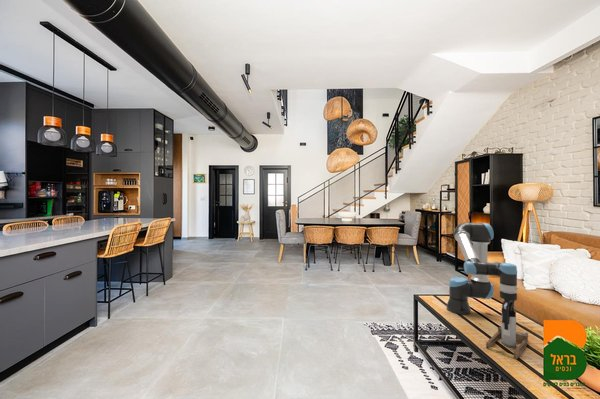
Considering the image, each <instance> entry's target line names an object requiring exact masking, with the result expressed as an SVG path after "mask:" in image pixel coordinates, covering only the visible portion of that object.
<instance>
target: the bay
mask: <svg viewBox="0 0 600 399" xmlns="http://www.w3.org/2000/svg"><path fill="white" fill-rule="evenodd" d="M528 337H529V332H527V331H525V333H524V332H520V331H517V330H516V344H517V343H518V344H519V345H518V347H517V348H515V350H514V352H513V354H511V353H508V352H507V351H503V350H500V349H498V348H495V347H493V346H494V345H495V343H497V341H498V340H499V339H500V338H502V326H500V327H499V326H498V328H497V332H495V333H494V334H493V335H492V337H490V338H489V340H487V341H486V343H485V345H486V346H485V347H486V348H485V349H487V350H490V351H492V350H493V352H495V351H496V352H495V353H498V354H500V353H501V354H500V355H503V356H505V357H508V358H512V359H514V360H518V359H519V357H520V356H521V354H522V353H523V351H524V350H525V349H526V347H527V346H528V342H529V338H528Z"/></svg>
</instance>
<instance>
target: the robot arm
mask: <svg viewBox="0 0 600 399" xmlns="http://www.w3.org/2000/svg"><path fill="white" fill-rule="evenodd" d="M494 235H495V234H494V229H493V226H492V225H490V223H488V222H487V223H486V222H462V223H460V224H458V225H457V226H456V227H455V228H454V230H453V237H454V239H455V241H457V243H458V245H459V248H460V250H461V253H462V255H463V258H464V260H465V261H464V263H463V269H464V270H463V271H464V272H465V274H467V275H472V276H471V277H470V280H468V278H466V277H461V276H460V277H458V276H457V277H452V278H450V279H449V283H448V286H449V290H448V291H449V293H448V294H449V298H448V300H447V303H446V310H448V311H449V312H451V313H454V314H457V315H470V314H471V312H472V311H471V310H472V309H471V307H470V304H469V298H472V299H482V300H489V299H492V297H493V296H494V292H495V291H494V290H495V289H494V285H493V283H492V282H491V280H490V279H489V278H488V277H489V276H492V277H498V278H499V290H500V291H499V297H500V299H503V301H502V305H501V306H502V307H501V324H502V323H504V335H507V336H510V324H509V321H510V312H511V311H512V310H513V311H515V302H516V301H518V294H517V293H518V290H519V287H518V267H517V265H515V264H514V263H510V262H499V261H495V262H488V245H489V244H490V243H491V240H493V239H494Z"/></svg>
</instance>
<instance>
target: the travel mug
mask: <svg viewBox="0 0 600 399" xmlns="http://www.w3.org/2000/svg"><path fill="white" fill-rule="evenodd" d="M509 324H510V336H507V335H504V323H502V322H501V327H502V337H501V344H502V345H504V346H505V347H508V348H510V349H511V348H514V349H516V347H517V342H516V331H517V312H516V311H515V310H514V311H513V310H512V311H511V312H510V321H509Z"/></svg>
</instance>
